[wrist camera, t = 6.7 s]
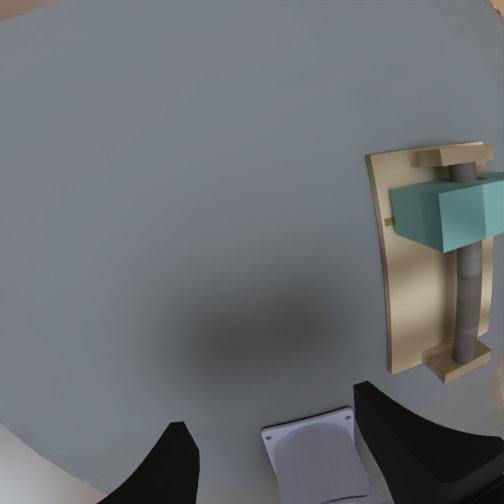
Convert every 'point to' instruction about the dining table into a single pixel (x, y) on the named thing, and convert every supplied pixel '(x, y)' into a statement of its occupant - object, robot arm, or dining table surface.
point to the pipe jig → (432, 268)
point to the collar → (450, 211)
